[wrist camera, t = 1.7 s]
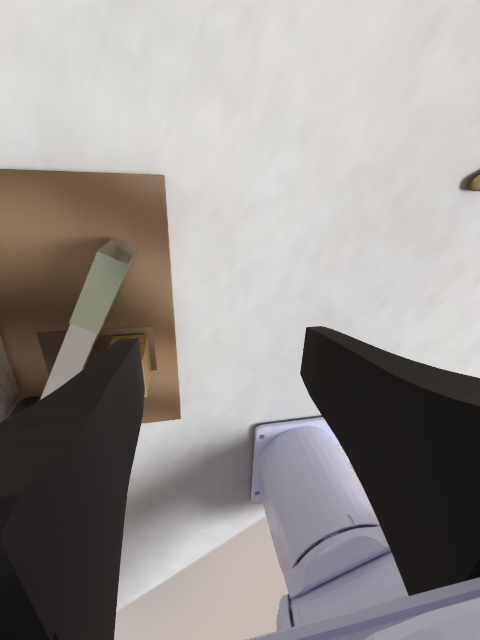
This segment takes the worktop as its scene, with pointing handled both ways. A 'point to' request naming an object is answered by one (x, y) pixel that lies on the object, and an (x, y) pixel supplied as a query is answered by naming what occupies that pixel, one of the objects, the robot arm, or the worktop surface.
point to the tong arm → (91, 311)
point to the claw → (475, 184)
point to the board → (84, 272)
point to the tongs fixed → (10, 388)
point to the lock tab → (144, 356)
